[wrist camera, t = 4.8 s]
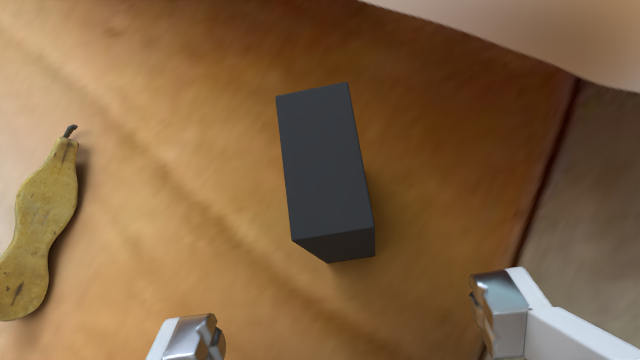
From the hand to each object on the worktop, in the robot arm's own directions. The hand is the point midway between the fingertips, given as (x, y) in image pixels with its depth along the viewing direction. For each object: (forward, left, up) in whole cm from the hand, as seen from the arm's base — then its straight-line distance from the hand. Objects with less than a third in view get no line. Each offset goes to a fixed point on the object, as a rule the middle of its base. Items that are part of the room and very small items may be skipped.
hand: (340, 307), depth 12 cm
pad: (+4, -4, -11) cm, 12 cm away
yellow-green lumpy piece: (+20, +9, -11) cm, 25 cm away
